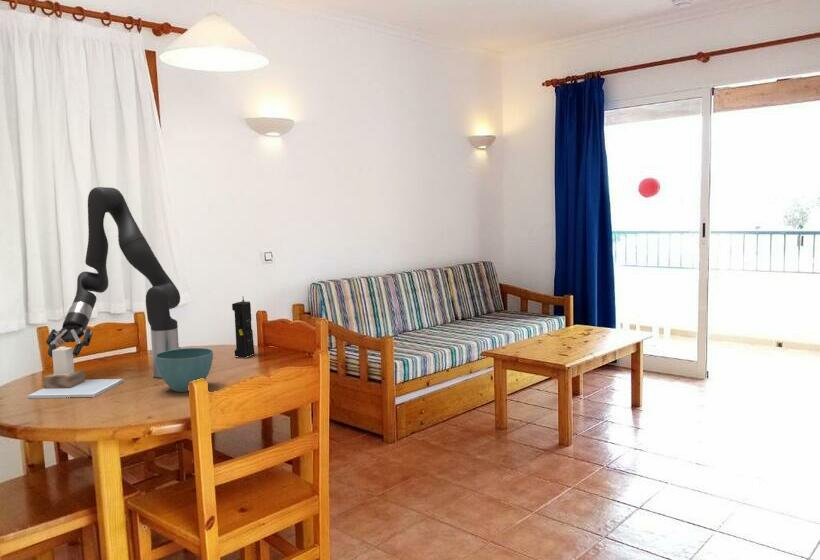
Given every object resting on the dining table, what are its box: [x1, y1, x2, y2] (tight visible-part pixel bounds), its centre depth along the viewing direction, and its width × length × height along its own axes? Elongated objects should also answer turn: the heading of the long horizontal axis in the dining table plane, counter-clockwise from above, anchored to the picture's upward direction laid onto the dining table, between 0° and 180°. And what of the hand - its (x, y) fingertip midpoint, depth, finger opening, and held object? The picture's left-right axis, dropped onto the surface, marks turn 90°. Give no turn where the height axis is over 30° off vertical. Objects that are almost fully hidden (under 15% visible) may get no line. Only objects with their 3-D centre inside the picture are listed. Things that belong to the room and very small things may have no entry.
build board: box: [26, 369, 124, 399], centre depth 216 cm, size 22×20×5 cm
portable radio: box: [231, 297, 255, 357], centre depth 263 cm, size 8×6×25 cm
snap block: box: [52, 346, 75, 375], centre depth 219 cm, size 4×4×9 cm
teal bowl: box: [155, 347, 214, 393], centre depth 214 cm, size 18×18×12 cm
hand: (62, 355), depth 219 cm, fingers open, 8 cm apart
